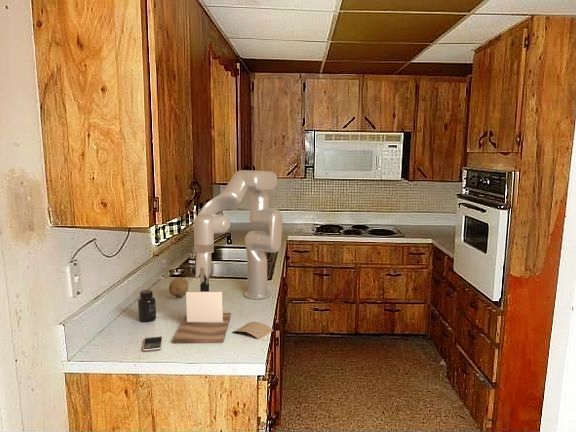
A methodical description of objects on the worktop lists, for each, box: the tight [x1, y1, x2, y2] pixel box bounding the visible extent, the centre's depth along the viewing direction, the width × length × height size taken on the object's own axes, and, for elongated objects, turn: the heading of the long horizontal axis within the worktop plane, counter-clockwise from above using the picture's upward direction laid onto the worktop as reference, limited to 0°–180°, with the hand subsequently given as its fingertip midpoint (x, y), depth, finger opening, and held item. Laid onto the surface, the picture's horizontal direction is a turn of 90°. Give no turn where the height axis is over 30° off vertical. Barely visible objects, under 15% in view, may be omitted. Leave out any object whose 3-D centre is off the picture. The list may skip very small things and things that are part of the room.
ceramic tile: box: [185, 290, 224, 323], centre depth 169 cm, size 13×14×1 cm
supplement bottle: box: [137, 289, 157, 323], centre depth 177 cm, size 7×7×12 cm
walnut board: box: [172, 312, 232, 344], centre depth 168 cm, size 26×18×2 cm
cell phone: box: [142, 336, 163, 353], centre depth 154 cm, size 6×11×1 cm, turn 14°
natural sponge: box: [168, 277, 189, 299], centre depth 203 cm, size 9×9×10 cm
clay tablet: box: [232, 321, 274, 340], centre depth 165 cm, size 14×10×3 cm
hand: (204, 293), depth 170 cm, fingers closed
